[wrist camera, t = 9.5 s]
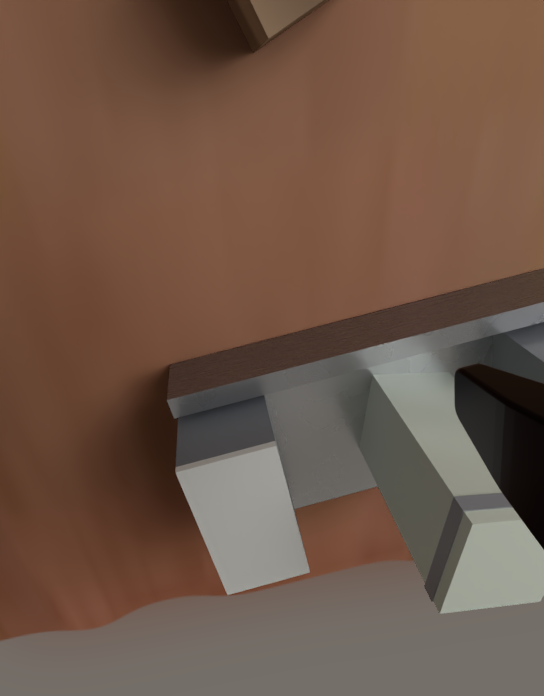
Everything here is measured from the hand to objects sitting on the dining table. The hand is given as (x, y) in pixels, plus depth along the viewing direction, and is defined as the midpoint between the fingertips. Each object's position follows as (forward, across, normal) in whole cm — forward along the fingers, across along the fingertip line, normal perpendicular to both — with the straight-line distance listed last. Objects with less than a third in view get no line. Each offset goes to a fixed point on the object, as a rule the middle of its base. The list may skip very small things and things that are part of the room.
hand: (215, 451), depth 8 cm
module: (+11, +1, +10) cm, 16 cm away
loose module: (+12, -8, +10) cm, 17 cm away
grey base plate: (+13, -6, +10) cm, 18 cm away
